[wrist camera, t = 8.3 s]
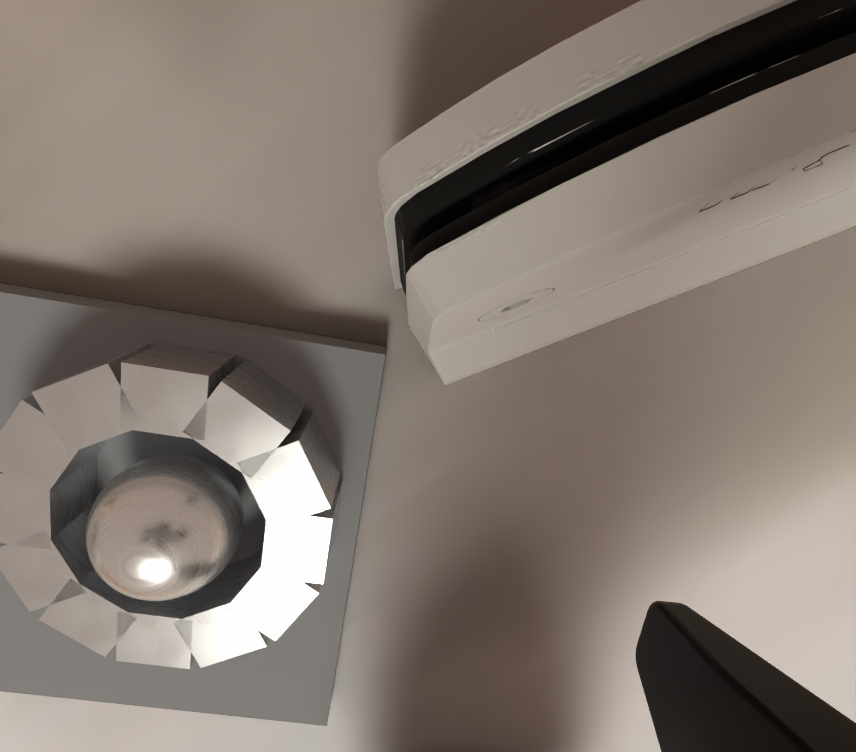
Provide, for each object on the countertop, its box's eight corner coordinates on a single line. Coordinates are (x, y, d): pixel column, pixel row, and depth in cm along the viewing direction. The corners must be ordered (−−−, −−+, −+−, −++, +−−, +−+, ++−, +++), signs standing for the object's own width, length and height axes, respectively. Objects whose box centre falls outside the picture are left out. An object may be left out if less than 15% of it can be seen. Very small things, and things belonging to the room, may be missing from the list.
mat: (330, 700, 23) (326, 725, 22) (-189, 643, 21) (-223, 667, 20) (387, 346, 19) (385, 354, 18) (-260, 240, 17) (-309, 241, 16)
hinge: (436, 388, 19) (389, 382, 9) (390, 269, 20) (296, 137, 10) (896, 210, 18) (1418, -22, 8) (839, 84, 18) (1270, -289, 8)
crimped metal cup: (321, 628, 20) (309, 682, 18) (41, 594, 20) (-11, 646, 17) (358, 373, 18) (349, 397, 15) (32, 321, 17) (-30, 338, 14)
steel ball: (250, 549, 20) (218, 640, 15) (123, 538, 19) (53, 629, 15) (261, 440, 18) (229, 506, 14) (126, 424, 18) (51, 489, 14)
